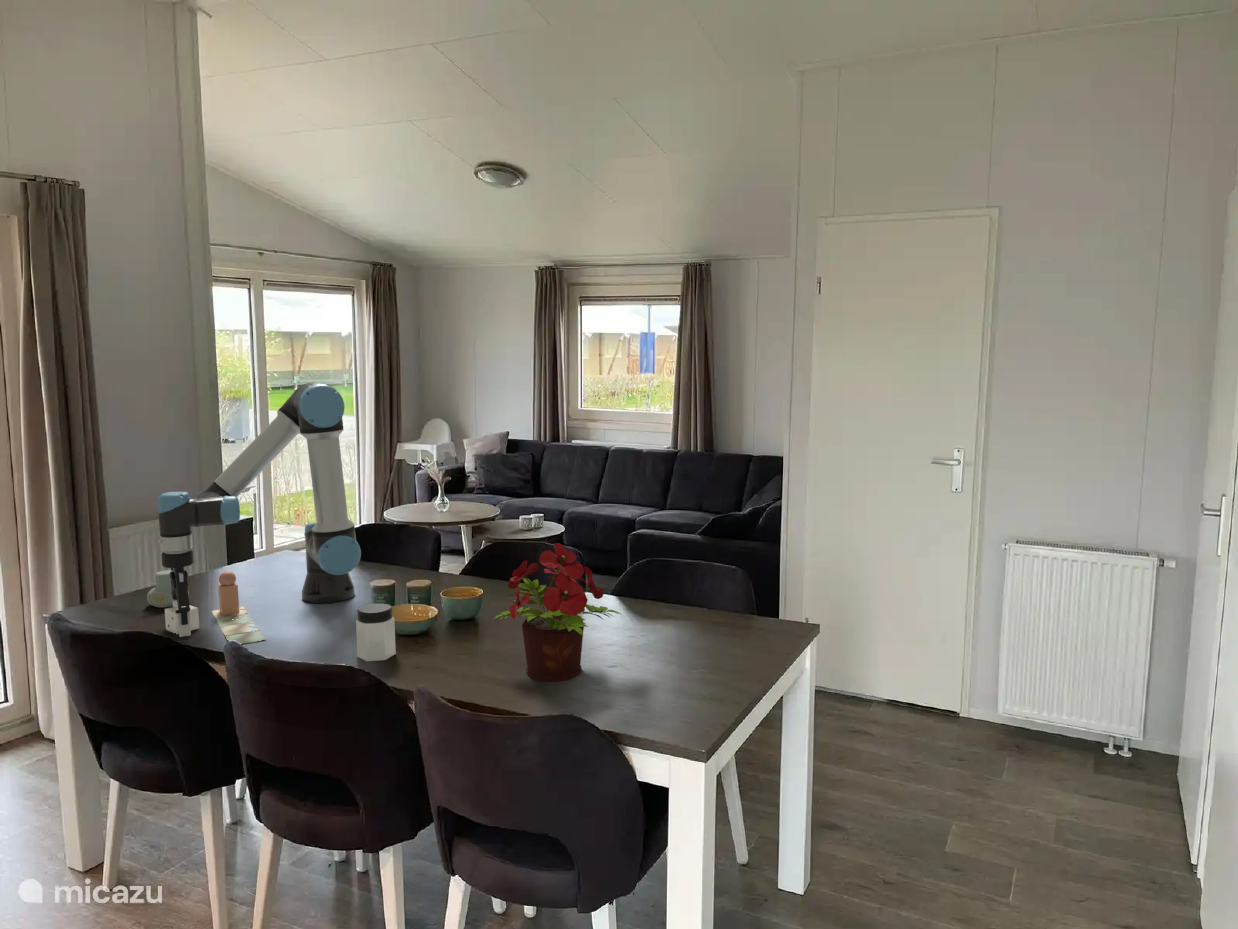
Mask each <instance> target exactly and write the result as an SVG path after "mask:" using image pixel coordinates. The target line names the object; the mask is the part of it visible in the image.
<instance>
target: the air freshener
mask: <svg viewBox="0 0 1238 929" xmlns="http://www.w3.org/2000/svg"><path fill="white" fill-rule="evenodd" d="M170 572H171V569H168V570H167V569H166V570H160V571H157V572H156V573H155V578H154V579H155V587H153V588H152V589H150V590H149V591H148V593H147V595H146V599H147V602H148V603H149V604H150V605H151V606H153V607H156V608H163V609H168V608H172V607H173V600H175V599H173V598H172V594H171V593H172V585H171V578H170ZM189 595H190V593H189V591H188V597H189Z"/></svg>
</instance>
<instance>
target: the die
mask: <svg viewBox="0 0 1238 929" xmlns="http://www.w3.org/2000/svg"><path fill="white" fill-rule="evenodd" d="M189 606H190V611H189V613H190V628H191V631H195V630H199V629H200V617H199V608H198V607H196V606H193V605H190V604H189ZM183 607H186V606H183ZM175 610H178V606H177V607H167V608H164V618H165V630H166V631H168V632H170V633H173V634H175V633H176V635H179V626H178V613H177V614H175Z"/></svg>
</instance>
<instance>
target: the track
mask: <svg viewBox="0 0 1238 929" xmlns="http://www.w3.org/2000/svg"><path fill="white" fill-rule="evenodd" d="M239 609H246V608H245V607H244V605H240V606H239ZM211 613H212V615H213V616H214V618H215V620H216V622H217V624H218V626H219V627H220V629H221V631H222V634H223V636H224V635H225V636H224V637H226V638H225V639H226V641H227V640H236V641H237V642H239V643H242V645H247V644H253V643H258V642H257V641H259V640H266V641H267V639H266V637H265V636H264V634H263V633H262V632H261V630H260V629H259V627H258V629H257V628H255V629H254V628H250V627H247V626H257V624H256V625H254V624H248V625H247V624H246V623H255V621H254V620H253V618H252V617H251V615H250V614H249V613H248V611H247V610H239V613H234V614H227V615H222V614H221V612H220V608H219V609H213V610H211ZM245 613H248V614H245ZM239 616H242V617H239ZM243 616H245V617H243ZM246 616H250V617H251V618H247V617H246ZM232 619H234V620H232ZM236 619H239V620H236ZM242 619H252V620H253V621H250V620H249V621H247V620H242ZM241 623H242V624H241ZM243 626H244V627H243ZM251 630H253V631H254V630H256V631H255V632H253V631H251ZM257 630H260V631H257ZM254 633H262V634H261V635H260V634H254ZM261 637H265V638H261Z"/></svg>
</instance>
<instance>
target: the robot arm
mask: <svg viewBox="0 0 1238 929" xmlns="http://www.w3.org/2000/svg"><path fill="white" fill-rule="evenodd" d="M343 398H344V397H342V394H341V393H340V391H338V390H337V389H336V388H335V387H333V386H331V385H329V384H326V383H318V382H307V383H303V384H302V385H300V386H298V387H297V388H296V389H295V390H294V392H293V393H292V394H291V395H290V396H289V397H288V398H287V400H286V401H284V403H283V404H282V405H281V406H280V407H279V409H277V412H276V413H277V416H276V417H275V418H274V419H273V420H272V421H271V422H270V423H268V424H267V426H266V427H265V429H263V430H262V431H261V432H260V433H259V434H258V436H256V438H254V440H253V441H252V442H250V444H249V445H248V446H247V447H246V448H245V449H244V450H243V451H242V452H240V454H239V455H237V457H236V458H235V459H234V460H233V461H232V462H231V463H230V464H229V465H228V466H227V468H225V469H224V471H222V472H221V473H220V475H218V477H217V478H216V479H215V480H214V481H213V482H212V483H211V484H210V485H209V486H208V487H207V488H206V489H204V490H202V491H200V492H199V493H198V495H197V496H196V498H191V497H190V493H189V492H188V491H169V492H164V493H162V494H160V495H159V496H158V497H157V507H158V509H157V514H158V524H159V526H158V527H159V536H160V539H159V540H157V544H160V550H161V552H162V553H161V554H160V555H161V556H160V557H161V566H162V567H163V568H166V569H170V570H171V572H170V578H171V585H172V593H171V594H172V598H173V599H175V600H173V607H177V606H178V610H175V614H177V613H178V626H179V634H178V635H179V637H180V638H182V637H189V636H192V633H191V631H192V630H191V628H190V613H189V611H190V606H189V605H190V598H189V596H188V592H189V590H188V587H189V583H188V575H189V574H188V572H187V570H185V568H186V567H190V566H192V565H193V564H194V562H195V560H194V551H193V548H194V542H193V533H192V528H199V527H207V526H208V527H210V526H221V525H224V526H228V525H231V524H237V523H239V522H240V519H241V508H240V501H239V498H238V497H239V496H240V495H241V494H242V493H243V492H244V490H245V489H246V488H247V487H249V485H250V484H251V483H252V482H253V481H254V480H256V478H257V477H258V476H259V475H260V474H261V473H262V472H263V471H264V470H265V469H266V468H267V467H268V466H269V465H270V464H271V462H272V461H274V459H275V458H276V457H277V456H278V455H279V454H280V453H281V452H283V450H284V449H285V448H286V447H288V445H289V444H290V443H291V442H292V441H293V440H294V439H295V438H296V437H297V436H298V435H301V436H303V437H304V438H305V439H306V443H307V452H308V461H309V468H310V478H311V487H312V494H313V501H314V502H313V503H314V510H315V519H316V520H315V522H310V523H307V524H306V525H305V526H304V542H305V559H306V561H305V562H306V576H305V580H304V581H303V582H304V583H303V586H302V590H301V599H302V600H303V601H304V602H307V603H313V604H328V603H337V602H342V601H346V600H349V599H351V598H353V597H354V596H355V594H356V593H355V586H354V582H353V580H352V578H351V576H350V572H351V571H353V570H354V569H355V568H356V567H357V566H358V565H359V563H360V561H361V556H362V549H361V547H360V543H359V542H358V541H357V536H356V528H355V523H354V522H353V521H351V519H349V515H348V506H347V505H348V504H347V499H346V498H347V496H346V489H345V481H344V480H345V479H344V473H343V463H342V461H343V460H342V454H341V446H340V445H341V444H340V438H339V437H340V435H341V434H342V432H344V421H343V416H344V413H345V406H346V405H345V402H344V399H343ZM183 606H186V607H183Z"/></svg>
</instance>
